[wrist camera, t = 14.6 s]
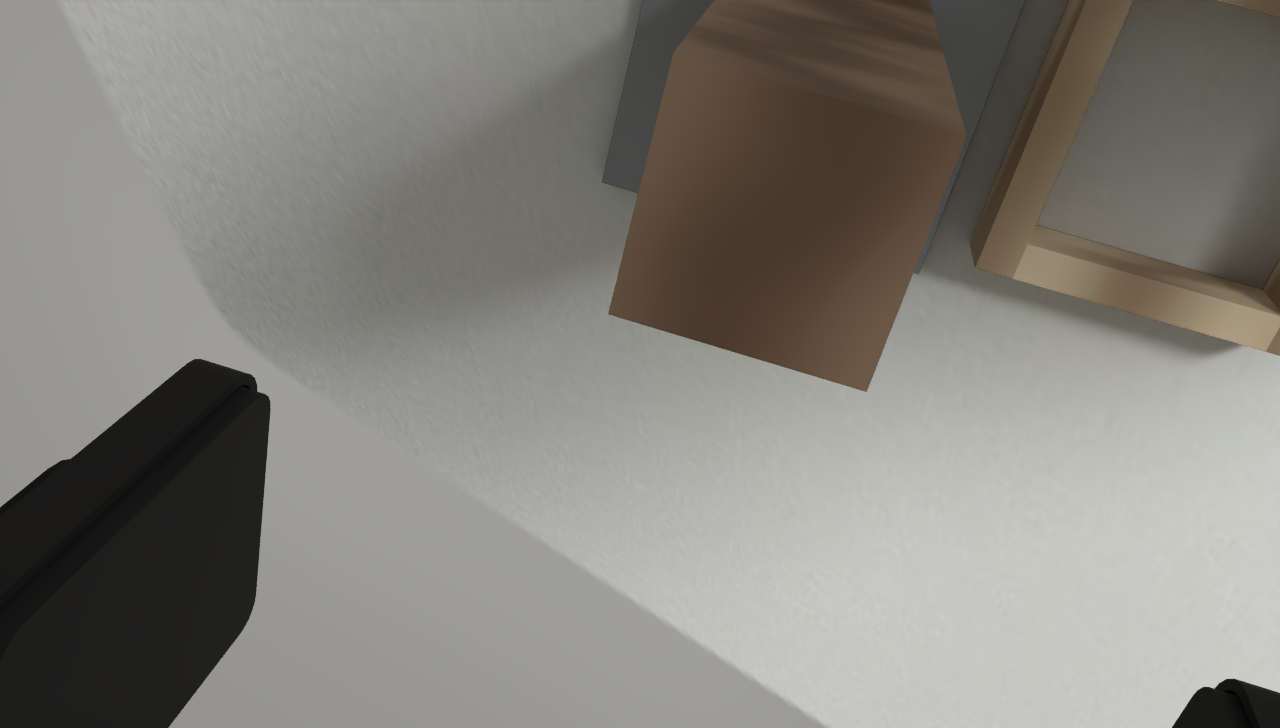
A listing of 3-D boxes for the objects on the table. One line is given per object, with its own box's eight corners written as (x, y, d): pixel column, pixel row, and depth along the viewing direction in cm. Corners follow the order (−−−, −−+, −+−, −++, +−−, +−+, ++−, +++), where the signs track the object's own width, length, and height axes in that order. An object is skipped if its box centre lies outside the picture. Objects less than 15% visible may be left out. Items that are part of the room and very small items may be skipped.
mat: (1049, -72, 32) (1052, -70, 32) (917, 267, 38) (918, 273, 37) (684, -170, 33) (681, -170, 32) (605, 177, 38) (602, 182, 38)
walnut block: (929, 2, 33) (966, 135, 20) (868, 173, 36) (866, 391, 23) (751, -48, 34) (673, 52, 20) (704, 126, 36) (608, 314, 23)
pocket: (1466, 12, 31) (1505, 27, 29) (1281, 332, 36) (1304, 362, 34) (1103, -85, 32) (1118, -77, 30) (969, 243, 37) (974, 268, 35)
